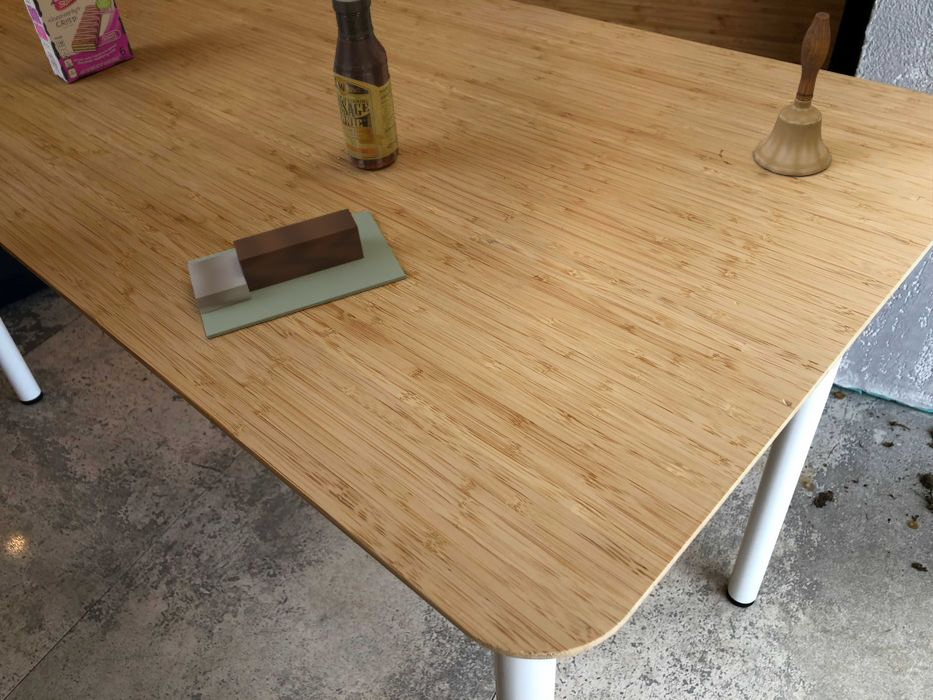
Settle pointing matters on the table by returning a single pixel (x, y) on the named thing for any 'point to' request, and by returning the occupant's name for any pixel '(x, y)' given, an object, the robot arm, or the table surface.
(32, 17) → the candy bar box
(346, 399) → the table surface
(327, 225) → the dark brown bar
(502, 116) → the table surface
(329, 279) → the mat
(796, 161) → the hand bell
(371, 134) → the sauce bottle
